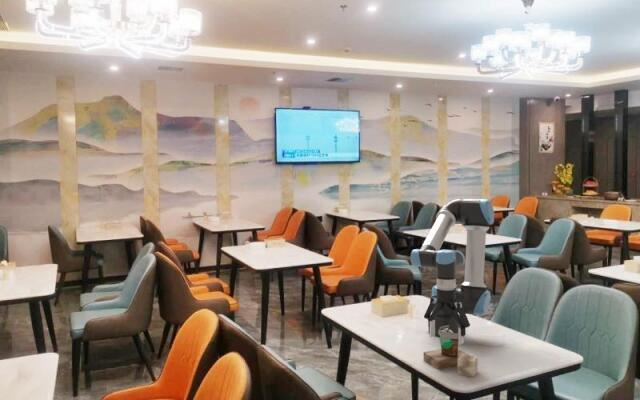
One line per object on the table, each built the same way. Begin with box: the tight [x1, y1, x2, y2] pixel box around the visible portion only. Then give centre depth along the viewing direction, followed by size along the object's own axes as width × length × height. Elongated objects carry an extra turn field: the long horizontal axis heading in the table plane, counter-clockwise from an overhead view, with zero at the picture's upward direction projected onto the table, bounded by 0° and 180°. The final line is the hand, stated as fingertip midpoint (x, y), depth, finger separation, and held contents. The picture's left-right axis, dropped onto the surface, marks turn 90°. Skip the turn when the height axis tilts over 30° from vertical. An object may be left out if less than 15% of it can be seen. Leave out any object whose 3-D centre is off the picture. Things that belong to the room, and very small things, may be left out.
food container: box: [438, 325, 459, 357], centre depth 214 cm, size 12×6×10 cm, turn 4°
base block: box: [423, 348, 470, 371], centre depth 214 cm, size 11×15×4 cm
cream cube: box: [457, 354, 479, 377], centre depth 203 cm, size 6×6×6 cm
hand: (446, 339), depth 214 cm, fingers open, 13 cm apart
